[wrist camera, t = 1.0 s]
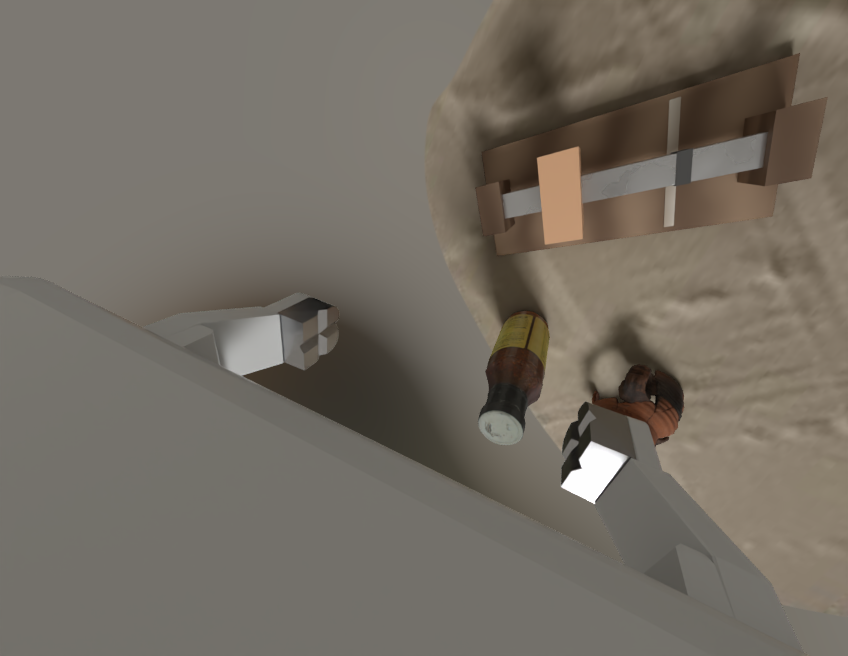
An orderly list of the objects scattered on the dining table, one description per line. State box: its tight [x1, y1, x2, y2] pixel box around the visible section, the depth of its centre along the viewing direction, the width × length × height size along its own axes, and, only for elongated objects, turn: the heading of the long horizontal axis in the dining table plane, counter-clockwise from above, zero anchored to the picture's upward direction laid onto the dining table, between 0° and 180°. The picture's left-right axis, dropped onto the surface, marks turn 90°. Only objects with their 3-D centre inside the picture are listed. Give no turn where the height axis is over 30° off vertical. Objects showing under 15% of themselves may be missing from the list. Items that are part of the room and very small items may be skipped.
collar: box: [537, 146, 584, 245], centre depth 29 cm, size 3×7×9 cm, turn 16°
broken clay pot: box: [592, 364, 684, 447], centre depth 39 cm, size 12×10×8 cm
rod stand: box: [476, 53, 828, 256], centre depth 30 cm, size 25×12×6 cm, turn 106°
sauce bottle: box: [478, 311, 550, 445], centre depth 36 cm, size 7×6×20 cm
